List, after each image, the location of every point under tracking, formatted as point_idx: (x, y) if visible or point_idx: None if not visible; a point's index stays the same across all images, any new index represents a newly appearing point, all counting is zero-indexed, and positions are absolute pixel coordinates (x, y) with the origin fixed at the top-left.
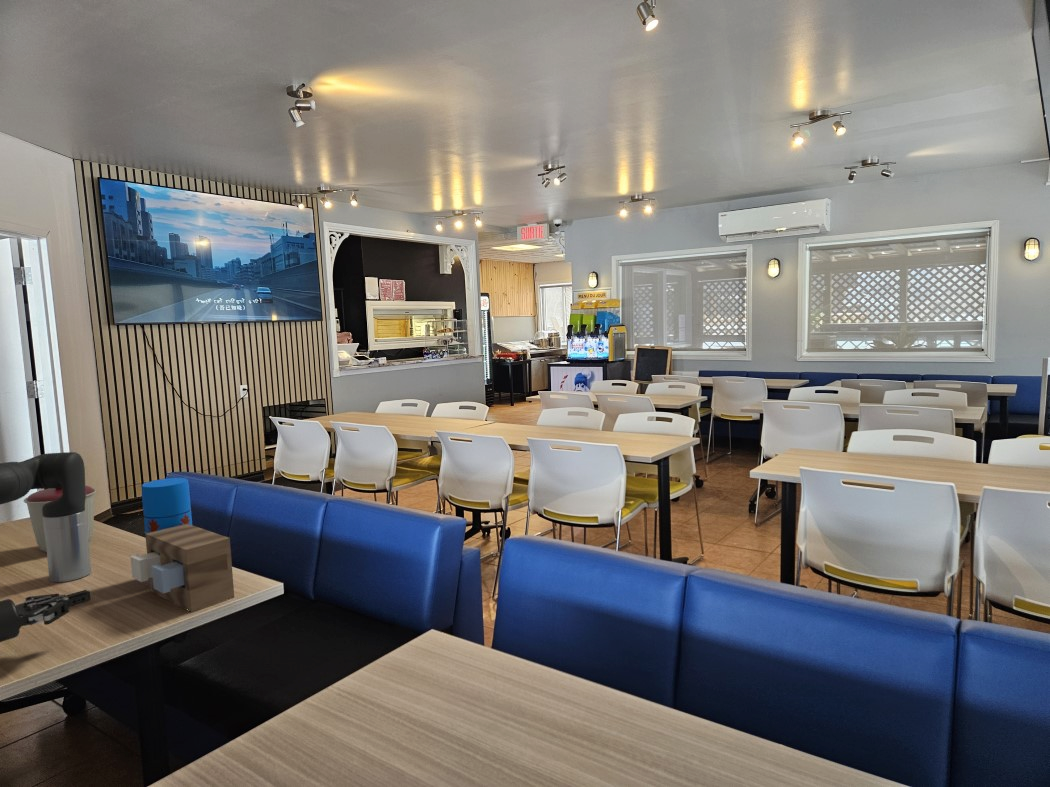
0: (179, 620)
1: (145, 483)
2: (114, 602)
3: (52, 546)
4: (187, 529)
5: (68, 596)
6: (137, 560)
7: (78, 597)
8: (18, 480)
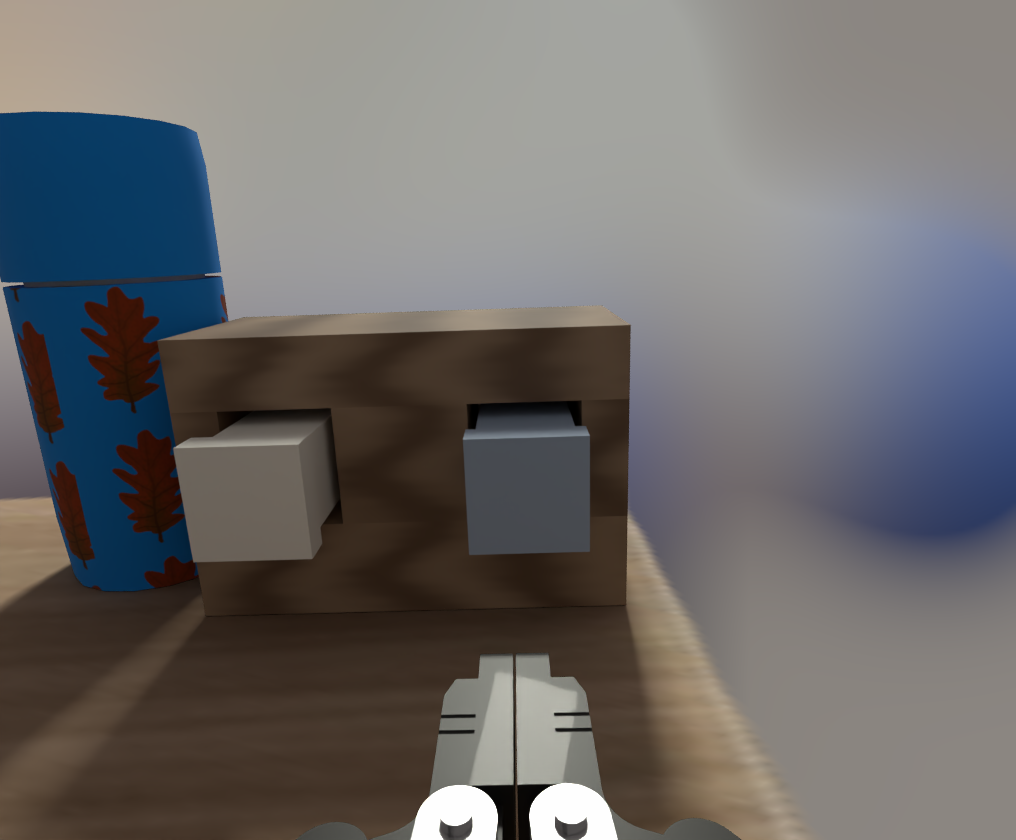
0: (684, 645)
1: None
2: (118, 727)
3: None
4: (323, 318)
5: (539, 783)
6: (270, 450)
7: (593, 740)
8: None
